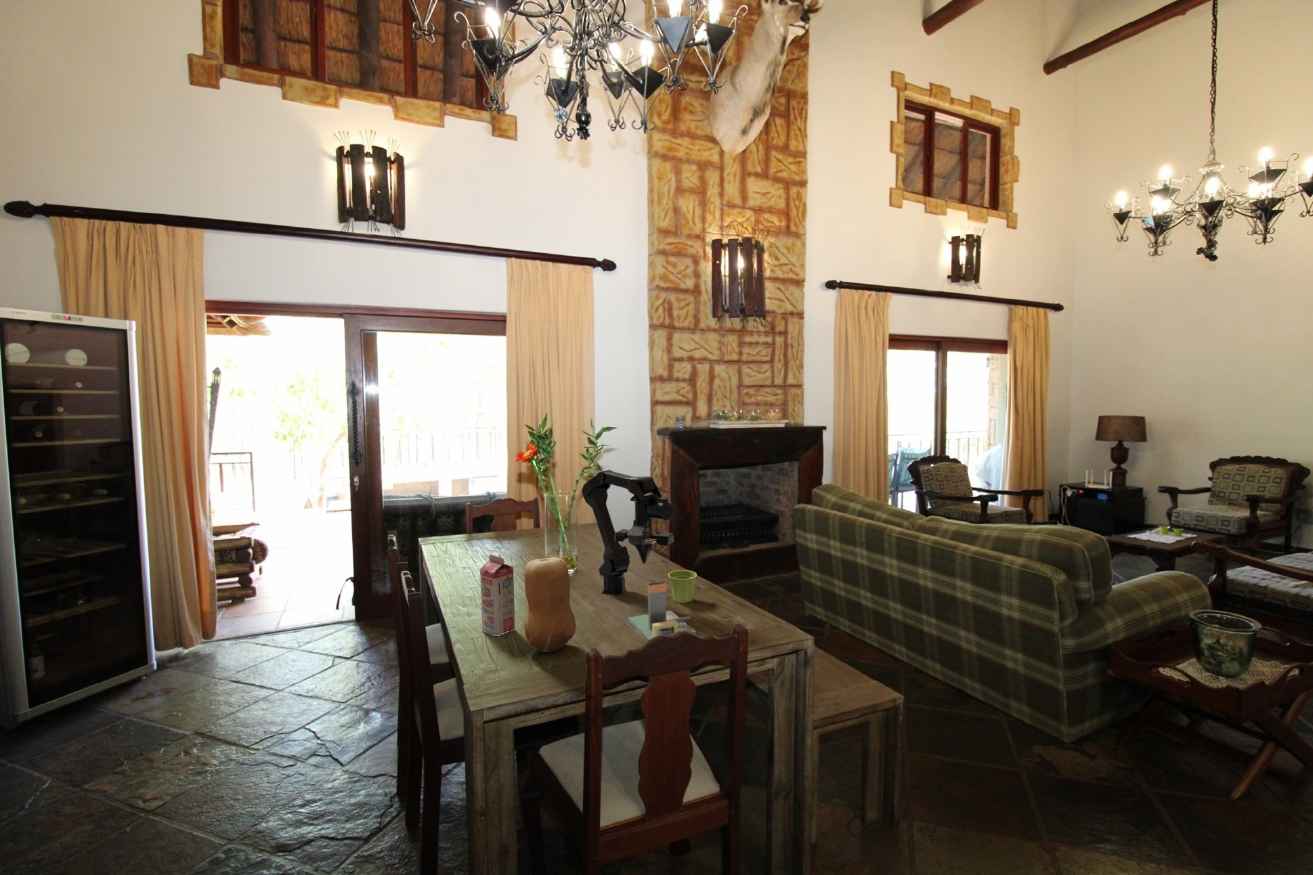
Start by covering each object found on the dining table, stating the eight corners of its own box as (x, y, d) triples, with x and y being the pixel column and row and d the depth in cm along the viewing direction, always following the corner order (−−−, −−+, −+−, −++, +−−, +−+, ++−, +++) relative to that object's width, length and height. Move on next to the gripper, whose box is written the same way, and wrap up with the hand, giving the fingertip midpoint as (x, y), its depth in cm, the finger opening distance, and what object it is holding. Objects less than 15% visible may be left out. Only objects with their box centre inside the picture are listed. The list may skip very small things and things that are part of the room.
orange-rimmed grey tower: (648, 628, 175) (647, 583, 174) (688, 620, 180) (688, 577, 179) (658, 637, 168) (658, 592, 167) (700, 629, 173) (700, 585, 172)
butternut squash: (543, 636, 172) (541, 549, 170) (585, 643, 167) (583, 554, 165) (514, 656, 160) (511, 563, 157) (558, 664, 154) (555, 568, 152)
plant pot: (694, 606, 195) (694, 579, 194) (665, 604, 197) (665, 578, 196) (698, 596, 204) (698, 570, 203) (671, 594, 206) (670, 569, 205)
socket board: (627, 620, 183) (627, 606, 183) (669, 612, 189) (669, 599, 189) (650, 643, 167) (650, 628, 167) (696, 634, 172) (696, 619, 172)
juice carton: (501, 624, 181) (498, 552, 179) (515, 629, 177) (512, 555, 175) (482, 631, 176) (479, 557, 174) (496, 637, 172) (493, 561, 170)
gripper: (606, 518, 192) (607, 567, 193) (661, 523, 185) (662, 573, 187) (621, 512, 203) (622, 558, 204) (674, 515, 196) (674, 563, 197)
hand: (644, 563), depth 198 cm, fingers closed
